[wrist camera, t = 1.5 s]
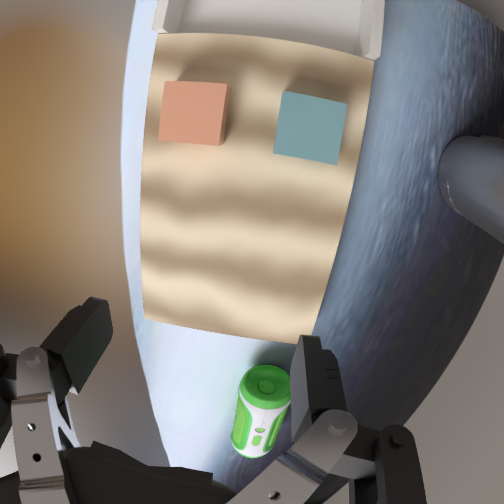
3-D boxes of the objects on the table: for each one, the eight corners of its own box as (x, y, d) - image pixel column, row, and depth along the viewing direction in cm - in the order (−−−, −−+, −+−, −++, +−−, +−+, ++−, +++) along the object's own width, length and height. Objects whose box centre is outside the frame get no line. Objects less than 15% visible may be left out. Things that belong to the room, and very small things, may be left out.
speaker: (242, 357, 39) (236, 400, 32) (295, 363, 39) (297, 406, 32) (232, 423, 46) (227, 458, 39) (273, 427, 46) (272, 462, 39)
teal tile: (281, 94, 22) (282, 90, 20) (340, 105, 22) (347, 104, 20) (272, 150, 24) (273, 153, 22) (330, 161, 24) (336, 165, 22)
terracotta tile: (174, 84, 22) (164, 80, 20) (231, 87, 22) (227, 83, 20) (168, 138, 24) (157, 140, 22) (223, 144, 24) (218, 146, 22)
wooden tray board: (170, 42, 23) (157, 34, 20) (363, 67, 23) (374, 60, 20) (154, 301, 36) (144, 318, 32) (305, 326, 36) (307, 345, 32)
